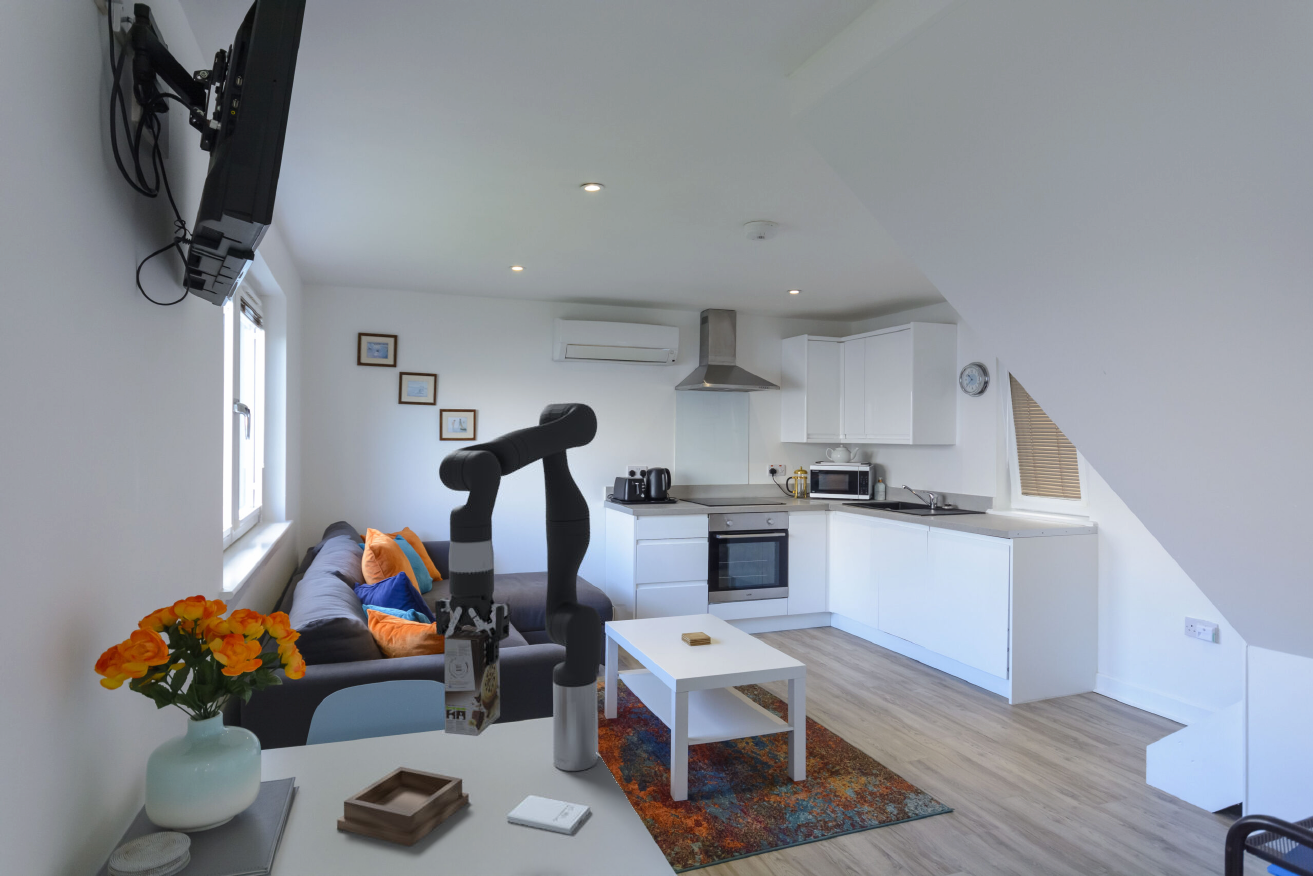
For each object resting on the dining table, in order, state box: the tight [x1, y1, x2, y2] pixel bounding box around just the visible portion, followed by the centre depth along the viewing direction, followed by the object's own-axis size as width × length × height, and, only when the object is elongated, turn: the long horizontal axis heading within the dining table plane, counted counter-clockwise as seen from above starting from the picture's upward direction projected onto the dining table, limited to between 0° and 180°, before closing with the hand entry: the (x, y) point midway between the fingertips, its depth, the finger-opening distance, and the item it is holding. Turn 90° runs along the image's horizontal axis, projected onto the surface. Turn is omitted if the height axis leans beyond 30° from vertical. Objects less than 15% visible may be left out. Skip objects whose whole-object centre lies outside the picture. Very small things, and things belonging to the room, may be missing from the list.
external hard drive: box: [506, 794, 591, 835], centre depth 132 cm, size 2×8×12 cm
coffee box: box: [444, 625, 501, 737], centre depth 126 cm, size 9×6×16 cm
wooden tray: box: [336, 766, 470, 847], centre depth 133 cm, size 16×16×4 cm
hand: (472, 662), depth 126 cm, fingers closed on coffee box, 7 cm apart
